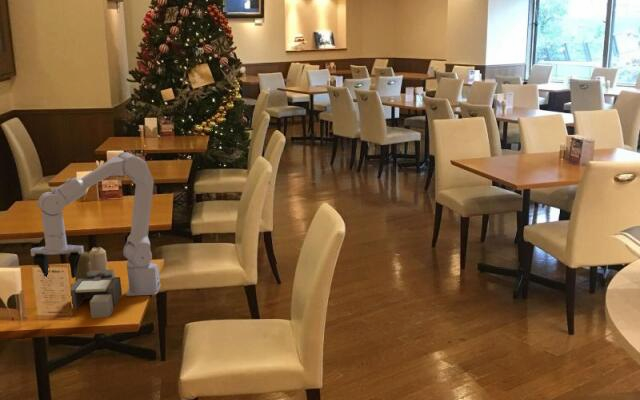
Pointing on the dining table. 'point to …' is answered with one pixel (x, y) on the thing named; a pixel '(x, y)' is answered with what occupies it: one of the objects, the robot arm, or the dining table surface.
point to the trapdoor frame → (112, 289)
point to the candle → (98, 259)
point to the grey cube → (101, 306)
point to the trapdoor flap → (96, 281)
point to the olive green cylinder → (83, 266)
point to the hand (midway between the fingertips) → (61, 277)
